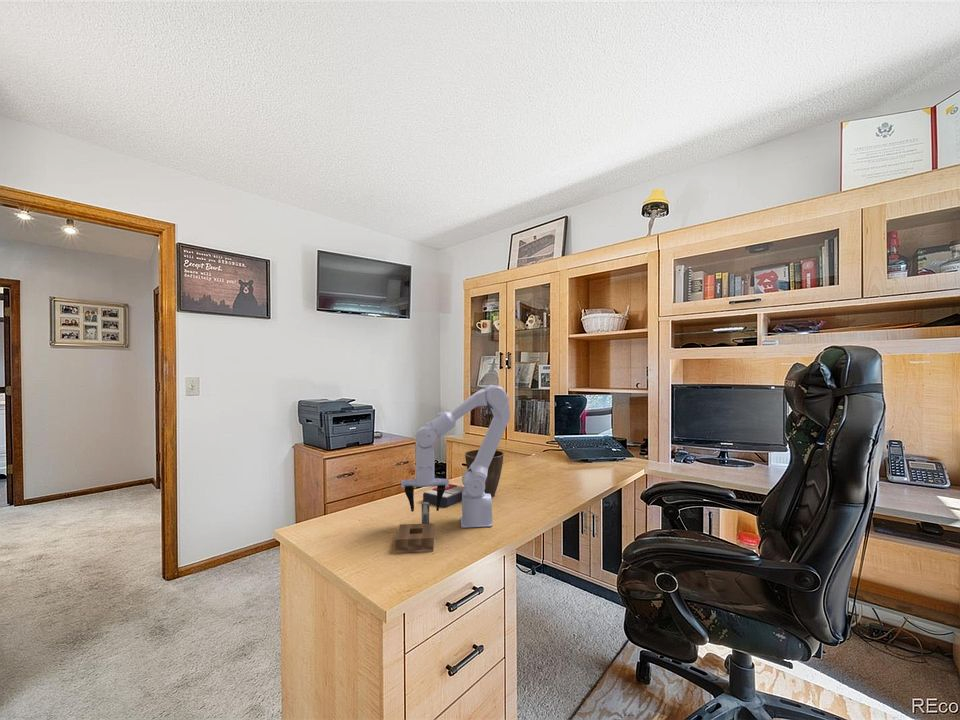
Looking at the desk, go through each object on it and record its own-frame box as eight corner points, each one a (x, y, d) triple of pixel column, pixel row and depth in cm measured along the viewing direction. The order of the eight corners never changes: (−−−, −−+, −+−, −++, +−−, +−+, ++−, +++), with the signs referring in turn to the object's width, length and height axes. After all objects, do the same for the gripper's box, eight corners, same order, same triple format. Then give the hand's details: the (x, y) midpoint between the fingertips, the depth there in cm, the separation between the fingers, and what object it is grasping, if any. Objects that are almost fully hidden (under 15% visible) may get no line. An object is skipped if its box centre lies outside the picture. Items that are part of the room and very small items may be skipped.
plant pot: (457, 495, 150) (456, 453, 151) (484, 486, 161) (484, 447, 161) (484, 504, 140) (484, 459, 140) (512, 495, 150) (511, 453, 150)
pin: (429, 524, 123) (429, 501, 123) (429, 527, 121) (429, 504, 121) (421, 524, 123) (421, 502, 123) (421, 527, 120) (421, 504, 120)
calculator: (470, 487, 150) (446, 496, 137) (470, 498, 149) (446, 508, 137) (448, 482, 156) (422, 490, 143) (447, 493, 155) (422, 502, 143)
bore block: (434, 535, 115) (434, 523, 115) (433, 551, 105) (433, 538, 105) (399, 536, 114) (399, 524, 114) (395, 552, 104) (395, 539, 104)
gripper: (448, 462, 127) (448, 504, 126) (403, 463, 125) (402, 506, 125) (448, 468, 120) (448, 513, 119) (400, 469, 118) (400, 514, 118)
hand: (425, 510), depth 122 cm, fingers open, 7 cm apart
